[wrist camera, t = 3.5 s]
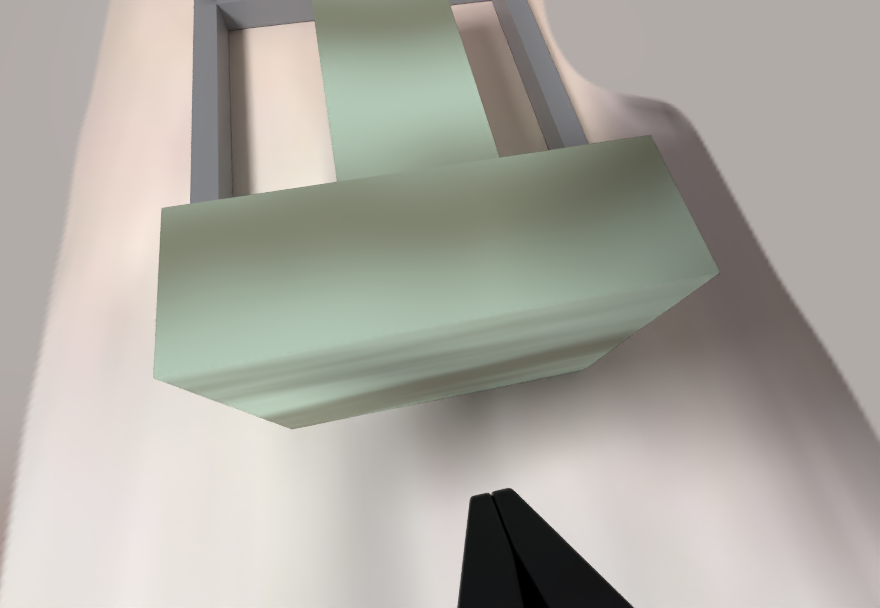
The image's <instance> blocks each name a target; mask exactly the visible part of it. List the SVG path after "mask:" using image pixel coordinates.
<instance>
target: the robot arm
mask: <svg viewBox="0 0 880 608" xmlns="http://www.w3.org/2000/svg"><path fill="white" fill-rule="evenodd" d="M457 608H634V607H633V606H632V605H631V604H630V603H629V602H628V601H627V600H626V599H625V598H624V597H623V596H622V595H621V594H619V593H618V592H617V591H616V590H615V589H614V588H613V587H612V586H611V585H610V584H609V583H608V582H607V581H606V580H605V579H604V578H603V577H602V576H601V575H600V574H599V573H598V572H597V571H596V570H595V569H594V568H593V567H592V566H591V565H590V564H589V563H588V562H587V561H586V560H585V559H584V558H583V557H582V556H581V555H580V554H579V553H577V552H576V551H575V550H574V549H573V548H572V547H571V546H570V545H569V544H568V543H567V542H566V541H565V540H564V539H563V538H562V537H561V536H560V535H559V534H558V533H557V532H556V531H555V530H554V529H553V528H552V527H551V526H550V525H549V524H548V523H547V522H546V521H545V520H544V519H543V518H542V517H541V516H540V515H539V514H538V513H537V512H536V511H534V510H533V509H532V508H531V507H530V506H529V505H528V504H527V503H526V502H525V501H524V500H523V499H522V498H521V497H520V496H519V495H518V494H517V493H516V492H515V491H514V490H513V489H511V488H506V489H502V490H497V491H494V492H492V494H489V493H484V494H480V495H475V496H472V497H471V498H470V503H469V511H468V520H467V529H466V537H465V546H464V555H463V563H462V572H461V580H460V589H459V598H458V606H457Z"/></svg>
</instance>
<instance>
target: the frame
mask: <svg viewBox="0 0 880 608" xmlns="http://www.w3.org/2000/svg"><path fill="white" fill-rule="evenodd" d="M480 1H489V0H449V3H450V5H454V4H463V3H472V2H480ZM492 2H493V5H494V8H495V10H496V13H497V16H498V18H499V21H500V23H501V26H502V29H503V31H504V34H505V36H506V39H507V42H508V44H509V47H510V50H511V52H512V55H513V57H514V60H515V63H516V65H517V68H518V70H519V73H520V76H521V78H522V81H523V84H524V86H525V89H526V91H527V94H528V97H529V99H530V102H531V104H532V107H533V110H534V112H535V115H536V118H537V120H538V123H539V125H540V128H541V131H542V133H543V136H544V138H545V141H546V144H547V146H548V149H549V150H553V149H560V148H567V147H573V146H580V145H587V144H588V141H587V139H586V137H585V134H584V132H583V130H582V127H581V125H580V123H579V120H578V118H577V116H576V113H575V111H574V109H573V107H572V104H571V102H570V100H569V97H568V95H567V93H566V90H565V88H564V86H563V83H562V81H561V79H560V76H559V74H558V72H557V69H556V67H555V65H554V62H553V60H552V58H551V55H550V53H549V51H548V48H547V46H546V44H545V41H544V39H543V37H542V34H541V32H540V30H539V27H538V25H537V23H536V20H535V18H534V16H533V13H532V11H531V9H530V6H529V4H528V2H527V0H492ZM313 20H314V13H313V6H312V0H194V33H193V86H192V138H191V191H190V204H192V203H199V202H206V201H212V200H219V199H226V198H232V197H233V195H232V157H231V118H230V79H229V41H228V30H234V29H243V28H252V27H261V26H269V25H278V24H287V23H296V22H305V21H313Z"/></svg>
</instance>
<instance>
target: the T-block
mask: <svg viewBox="0 0 880 608" xmlns="http://www.w3.org/2000/svg"><path fill="white" fill-rule="evenodd" d="M312 6H313V13H314V20H315V27H316V34H317V41H318V49H319V56H320V63H321V70H322V77H323V84H324V92H325V99H326V106H327V113H328V120H329V127H330V134H331V142H332V149H333V156H334V163H335V170H336V177H337V182H333V183H326V184H319V185H313V186H306V187H299V188H293V189H286V190H279V191H273V192H266V193H259V194H252V195H246V196H239V197H232V198H226V199H219V200H212V201H206V202H199V203H192V204H186V205H179V206H172V207H166V208H162V211H161V231H160V252H159V272H158V292H157V312H156V333H155V353H154V373H153V378H154V379H157V380H160V381H163V382H165V383H168V384H171V385H173V386H176V387H179V388H182V389H184V390H187V391H190V392H192V393H195V394H198V395H201V396H203V397H206V398H209V399H211V400H214V401H217V402H220V403H222V404H225V405H228V406H230V407H233V408H236V409H238V410H241V411H244V412H247V413H249V414H252V415H255V416H257V417H260V418H263V419H266V420H268V421H271V422H274V423H276V424H279V425H282V426H285V427H287V428H290V429H296V428H301V427H306V426H310V425H315V424H320V423H325V422H330V421H335V420H340V419H345V418H350V417H355V416H360V415H364V414H369V413H374V412H379V411H384V410H389V409H394V408H399V407H404V406H409V405H414V404H418V403H423V402H428V401H433V400H438V399H443V398H448V397H453V396H458V395H463V394H468V393H473V392H477V391H482V390H487V389H492V388H497V387H502V386H507V385H512V384H517V383H522V382H527V381H531V380H536V379H541V378H546V377H551V376H556V375H561V374H566V373H571V372H576V371H581V370H584V369H586V368H587V367H589V366H590V365H591V364H593V363H594V362H596V361H597V360H598V359H600V358H601V357H603V356H604V355H605V354H607V353H608V352H610V351H611V350H612V349H614V348H615V347H617V346H618V345H619V344H621V343H622V342H624V341H625V340H626V339H628V338H629V337H631V336H632V335H633V334H635V333H636V332H638V331H639V330H640V329H642V328H643V327H645V326H646V325H647V324H649V323H650V322H652V321H653V320H654V319H656V318H657V317H659V316H660V315H661V314H663V313H664V312H666V311H667V310H668V309H670V308H671V307H673V306H674V305H675V304H677V303H678V302H680V301H681V300H682V299H684V298H685V297H687V296H688V295H689V294H691V293H692V292H694V291H695V290H696V289H698V288H699V287H701V286H702V285H703V284H705V283H706V282H708V281H709V280H710V279H712V278H713V277H715V276H716V275H717V274H719V273H720V271H719V269H718V267H717V265H716V263H715V261H714V259H713V257H712V255H711V253H710V251H709V249H708V247H707V245H706V243H705V242H704V240H703V238H702V236H701V234H700V232H699V230H698V228H697V226H696V224H695V222H694V220H693V218H692V216H691V214H690V212H689V210H688V208H687V206H686V204H685V202H684V200H683V198H682V196H681V194H680V192H679V190H678V188H677V186H676V184H675V182H674V180H673V178H672V176H671V174H670V172H669V170H668V168H667V166H666V164H665V162H664V160H663V158H662V156H661V154H660V152H659V150H658V149H657V147H656V145H655V143H654V141H653V139H652V137H651V135H647V136H640V137H634V138H627V139H620V140H614V141H607V142H600V143H593V144H587V145H580V146H573V147H567V148H560V149H553V150H547V151H540V152H533V153H527V154H520V155H513V156H507V157H499V154H498V151H497V148H496V145H495V142H494V139H493V135H492V132H491V129H490V126H489V123H488V120H487V117H486V114H485V111H484V108H483V105H482V102H481V98H480V95H479V92H478V89H477V86H476V83H475V80H474V77H473V74H472V71H471V68H470V65H469V62H468V58H467V55H466V52H465V49H464V46H463V43H462V40H461V37H460V34H459V31H458V28H457V25H456V21H455V18H454V15H453V12H452V9H451V6H450V3H449V0H312Z"/></svg>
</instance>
